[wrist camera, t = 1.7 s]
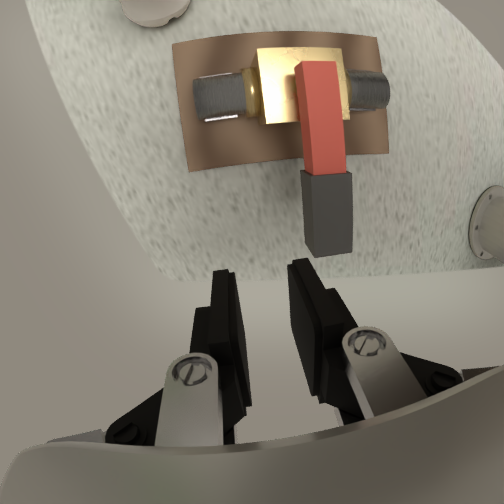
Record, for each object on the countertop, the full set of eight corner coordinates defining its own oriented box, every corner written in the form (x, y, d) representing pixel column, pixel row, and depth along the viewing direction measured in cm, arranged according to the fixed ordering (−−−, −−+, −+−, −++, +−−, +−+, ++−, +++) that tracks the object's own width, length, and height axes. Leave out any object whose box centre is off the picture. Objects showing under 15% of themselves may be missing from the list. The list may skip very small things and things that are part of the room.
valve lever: (323, 70, 19) (341, 60, 16) (334, 233, 25) (352, 252, 21) (286, 71, 19) (298, 59, 15) (301, 237, 25) (314, 258, 21)
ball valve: (365, 65, 25) (396, 54, 19) (372, 120, 27) (403, 121, 21) (195, 72, 24) (186, 57, 18) (202, 132, 27) (195, 133, 21)
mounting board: (370, 40, 25) (376, 37, 23) (382, 152, 30) (388, 153, 29) (174, 47, 24) (171, 44, 23) (190, 170, 30) (188, 172, 28)
